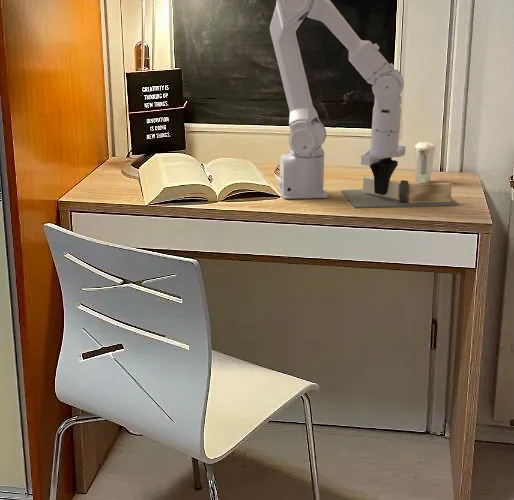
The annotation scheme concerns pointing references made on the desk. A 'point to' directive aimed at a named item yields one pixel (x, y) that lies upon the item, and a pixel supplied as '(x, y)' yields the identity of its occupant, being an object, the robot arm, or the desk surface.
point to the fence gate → (391, 192)
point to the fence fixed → (425, 192)
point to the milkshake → (424, 161)
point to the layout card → (386, 201)
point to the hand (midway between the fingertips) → (381, 193)
